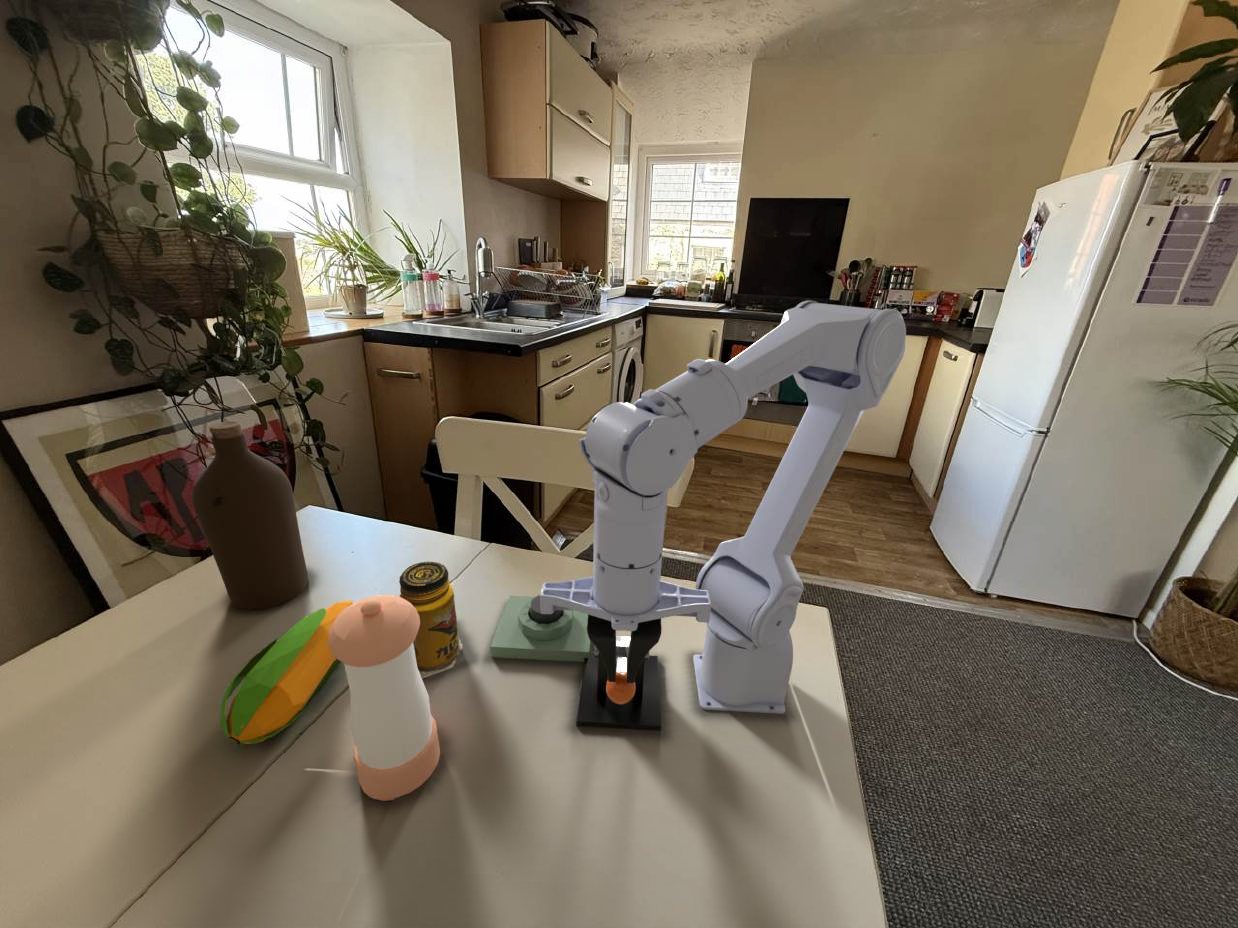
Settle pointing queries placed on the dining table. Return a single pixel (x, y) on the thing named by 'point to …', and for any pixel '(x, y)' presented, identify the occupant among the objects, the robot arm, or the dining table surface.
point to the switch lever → (621, 675)
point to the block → (540, 634)
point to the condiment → (432, 616)
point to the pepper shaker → (386, 696)
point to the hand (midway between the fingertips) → (621, 674)
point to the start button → (540, 617)
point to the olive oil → (250, 523)
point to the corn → (281, 679)
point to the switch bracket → (606, 713)
